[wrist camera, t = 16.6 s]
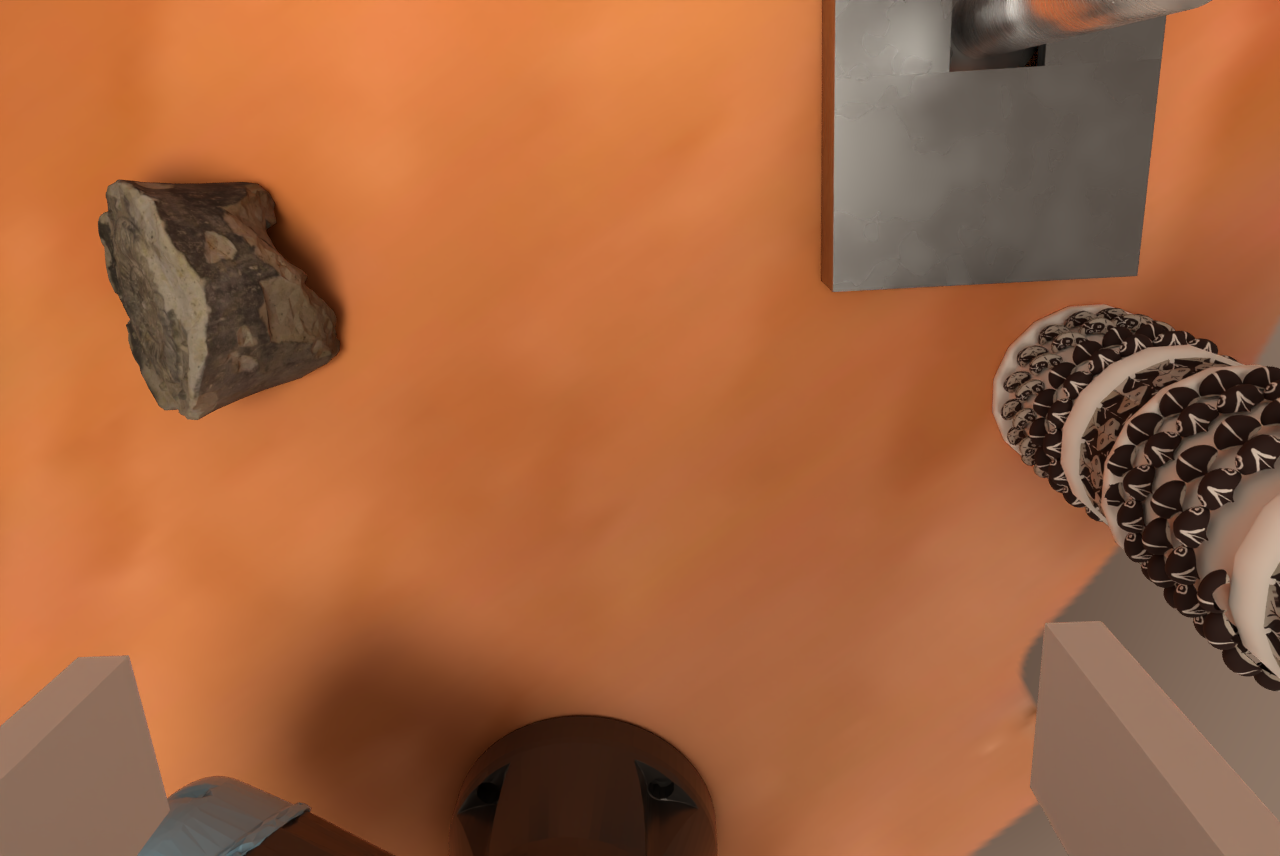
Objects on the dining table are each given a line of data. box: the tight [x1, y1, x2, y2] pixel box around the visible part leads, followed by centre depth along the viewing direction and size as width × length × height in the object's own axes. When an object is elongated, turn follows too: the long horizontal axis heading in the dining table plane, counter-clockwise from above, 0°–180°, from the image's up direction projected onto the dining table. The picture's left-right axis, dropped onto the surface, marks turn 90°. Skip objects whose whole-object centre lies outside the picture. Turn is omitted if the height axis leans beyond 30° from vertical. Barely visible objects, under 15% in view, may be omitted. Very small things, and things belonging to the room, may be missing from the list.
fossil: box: [98, 180, 340, 420], centre depth 40 cm, size 11×9×10 cm
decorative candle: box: [992, 304, 1280, 691], centre depth 32 cm, size 9×9×25 cm
